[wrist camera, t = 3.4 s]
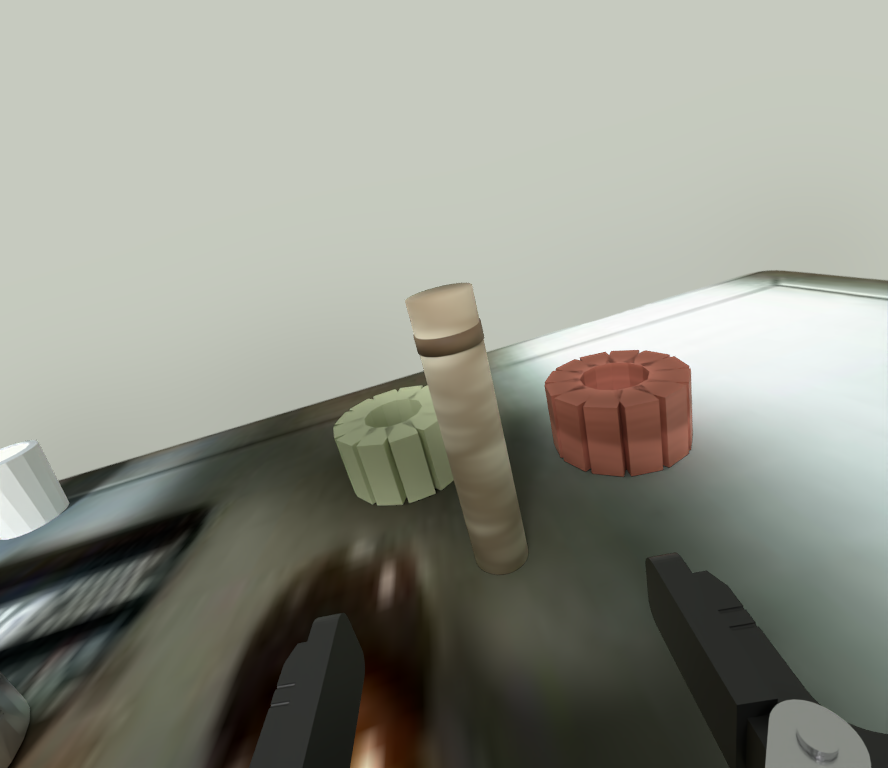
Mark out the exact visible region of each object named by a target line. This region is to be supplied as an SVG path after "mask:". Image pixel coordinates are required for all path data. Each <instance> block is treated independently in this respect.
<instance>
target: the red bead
mask: <svg viewBox="0 0 888 768" xmlns="http://www.w3.org/2000/svg"><path fill="white" fill-rule="evenodd" d="M545 391H546V397H547V403H548V409H549V415H550V421H551V427H552V433H553V439H554V445H555V447H556V449H557V451H558V453H559V455H560V457H561V458H563V457H564V461H565V462H567V463H569V464H571V465H573V466H575V467H577V468H579V469H581V470H583V471H585V472H586V471H588V470H589V469H591V470H592V473H593V474H602V475H612V476H622V477H624V475H625V471H626V469H627V471H628V472H629V474H630V475H631V476H636V475H641V474H646V473H651V472H656V471H661V470H663V465H664V466H667V467H671V466H672V465H674V464H675V463H676V462H678V461H679V460H681V459H682V458H683V457H685V456H686V455H688V454H689V450H691V446H692V436H693V429H692V395H691V369H689V366H688V365H687V364H685V363H684V362H682V361H681V360H679V359H678V358H676V357H675V356H673V357H670V355H668V354H663V353H657V352H651V351H643V352H641V353H639V350H628V351H611V353H610V355H608V354H607V353H606V352H603V353H598V354H594V355H589V356H585V357H580V360H576V359H574V360H572V361H570V362H568V363H566V364H564V365H562V366H560V367H558V368H556V371H552V373H551V374H550V376H549V377H548V378H547V380H546V381H545Z"/></svg>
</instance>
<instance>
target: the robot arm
mask: <svg viewBox="0 0 888 768" xmlns="http://www.w3.org/2000/svg"><path fill="white" fill-rule="evenodd" d="M646 574H647V586H648V597H649V604H650V608H651V612H652V615H653V618H654V620H655V623H656V625H657V627H658V629H659V631H660V633H661V635H662V637H663V639H664V641H665V643H666V645H667V647H668V648H669V650H670V652H671V654H672V656H673V658H674V660H675V662H676V664H677V666H678V668H679V670H680V672H681V674H682V676H683V678H684V680H685V682H686V683H687V685H688V687H689V689H690V691H691V693H692V695H693V697H694V699H695V701H696V703H697V705H698V707H699V709H700V711H701V713H702V715H703V717H704V718H705V720H706V722H707V724H708V726H709V728H710V730H711V732H712V734H713V736H714V738H715V740H716V742H717V744H718V746H719V748H720V750H721V751H722V753H723V755H724V757H725V759H726V761H727V763H728V765H729V767H730V768H888V734H883V733H878V732H873V731H869V730H865V729H862V728H859V727H856V726H854V725H852V724H850V723H847V722H846V721H845V720H843V719H842V718H841V717H839V716H838V715H837V714H835V713H834V712H832V711H830V710H829V709H827V708H825V707H823V706H821V705H820V704H819V703H818V702H817V701H816V700H815V699H814V698H813V697H812V696H811V695H810V694H809V692H808V691H807V690H806V689H805V687H804V686H803V685H802V683H801V682H800V681H799V679H798V678H797V677H796V675H795V674H794V673H793V672H792V670H791V669H790V668H789V666H788V665H787V664H786V662H785V661H784V660H783V658H782V657H781V656H780V654H779V653H778V652H777V650H776V649H775V648H774V646H773V645H772V644H771V642H770V641H769V640H768V638H767V637H766V636H765V634H764V633H763V632H762V630H761V629H760V628H759V627H757V626H756V623H755V621H754V620H753V618H752V617H751V616H750V614H749V613H748V612H747V611H746V610H744V608H743V605H742V604H741V603H740V601H739V600H738V599H737V597H736V596H735V595H734V593H733V592H732V591H731V589H730V588H729V587H728V586H727V585H726V584H725V583H723V582H722V581H720V580H719V579H718V578H716V577H715V576H713V575H712V574H711V573H709V572H708V571H702V572H696V573H692V572H691V571H690V569H689V568H688V566H687V565H686V563H685V562H684V560H683V559H682V557H681V556H680V555H679V554H678V553H670V554H665V555H659V556H654V557H648V558H646ZM364 673H365V664H364V656H363V652H362V649H361V647H360V644H359V642H358V640H357V637H356V635H355V633H354V631H353V628H352V626H351V624H350V622H349V619H348V617H347V615H346V614H345V613H341V614H336V615H330V616H325V617H320V618H317V619H315V621H314V623H313V625H312V628H311V632H310V635H309V638H308V642H304V643H299V644H297V646H296V647H295V649H294V650H293V652H292V653H291V655H290V656H289V658H288V659H287V660H286V662H285V663H284V666H283V669H282V672H281V675H280V678H279V681H278V684H277V690H275V693H274V696H273V699H272V702H271V708H269V711H268V713H267V716H266V719H265V722H264V725H263V728H262V731H261V734H260V737H259V740H258V743H257V746H256V749H255V752H254V755H253V758H252V761H251V764H250V767H249V768H350V763H351V757H352V751H353V744H354V738H355V732H356V725H357V719H358V713H359V707H360V700H361V694H362V688H363V681H364ZM29 722H30V707H29V705H28V703H27V701H26V699H25V698H24V697H23V696H22V695H21V694H20V693H19V692H18V690H17V689H16V688H15V687H14V686H13V685H12V684H11V683H10V682H9V681H8V679H7V678H6V677H5V676H4V675H3V674H2V673H1V672H0V768H7V767H8V766H9V765H10V763H11V762H12V760H13V758H14V756H15V754H16V753H17V751H18V749H19V747H20V745H21V743H22V741H23V740H24V737H25V734H26V731H27V728H28V725H29Z"/></svg>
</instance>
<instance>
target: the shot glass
mask: <svg viewBox="0 0 888 768" xmlns="http://www.w3.org/2000/svg"><path fill="white" fill-rule="evenodd" d="M68 505H69V501H68V499H67V497H66V495H65V493H64V491H63V489H62V487H61V485H60V484H59V482H58V480H57V478H56V476H55V474H54V472H53V470H52V468H51V466H50V464H49V462H48V460H47V458H46V456H45V454H44V452H43V450H42V448H41V446H40V445H39V442H38V441H37V440H28V441H25V442H20V443H17V444H13V445H10V446H7V447H4V448H1V449H0V540H7V539H11V538H15V537H19V536H21V535H24V534H26V533H29V532H31V531H33V530H35V529H37V528H39V527H41V526H43V525H45V524H46V523H48V522H50V521H51V520H53V519H54V518H56V517H57V516H59V515H60V514H61V513H62V512H63V511H64V510H65V509H67V507H68Z"/></svg>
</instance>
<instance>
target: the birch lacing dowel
mask: <svg viewBox="0 0 888 768" xmlns="http://www.w3.org/2000/svg"><path fill="white" fill-rule="evenodd" d="M405 303H406V306H407V310H408V314H409V317H410V321H411V324H412V328H413V332H414V340H415V343H416V347H417V351H418V354H419V355H420V358H421V361H422V365H423V369H424V372H425V376H426V380H427V383H428V387H429V391H430V394H431V398H432V402H433V405H434V409H435V413H436V416H437V420H438V424H439V427H440V431H441V435H442V438H443V442H444V446H445V449H446V453H447V457H448V460H449V464H450V468H451V471H452V475H453V479H454V482H455V486H456V490H457V493H458V497H459V501H460V504H461V508H462V512H463V515H464V519H465V523H466V526H467V530H468V534H469V537H470V541H471V545H472V548H473V552H474V556H475V559H476V562H477V565H478V566H479V567H480V568H481V569H482V570H483V571H485V572H487V573H490V574H494V575H503V574H508V573H511V572H514V571H516V570H517V569H519V568H520V567H521V566H522V565H523V564H524V563H525V562H526V560H527V557H528V546H527V541H526V537H525V532H524V527H523V523H522V518H521V513H520V508H519V504H518V499H517V494H516V490H515V485H514V480H513V476H512V471H511V466H510V461H509V457H508V452H507V447H506V443H505V438H504V433H503V429H502V424H501V419H500V414H499V410H498V405H497V400H496V396H495V391H494V386H493V382H492V377H491V372H490V367H489V363H488V358H487V353H486V349H485V344H484V340H483V339H484V334H483V329H482V325H481V320H480V318H479V316H478V311H477V306H476V302H475V297H474V293H473V288H472V284H470V283H456V284H449V285H444V286H440V287H435V288H432V289H428V290H425V291H422V292H419V293H417V294H415V295H412V296H410V297H409V298H407V299H406V300H405Z"/></svg>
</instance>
